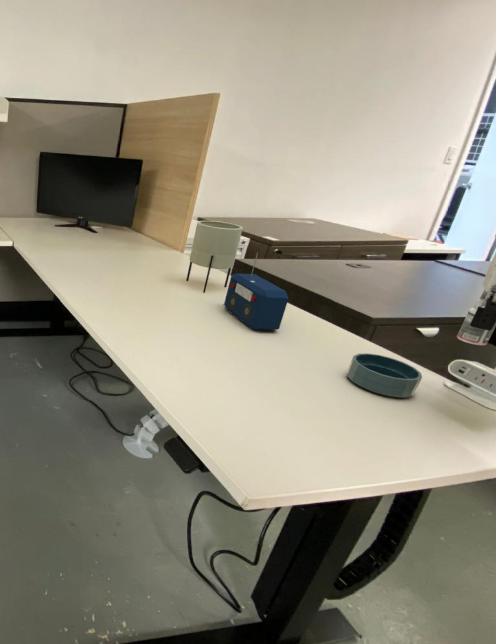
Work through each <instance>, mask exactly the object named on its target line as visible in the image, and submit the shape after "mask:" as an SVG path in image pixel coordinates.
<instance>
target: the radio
mask: <svg viewBox="0 0 496 644" xmlns="http://www.w3.org/2000/svg"><path fill="white" fill-rule="evenodd" d="M255 255H256V256H255V259H254V262H253V266H252V271H251V273H233V274H232V275H230V278H229V282H228V285H227V286H228V287H227V291H226V293H225V294H226V295H225V299H224V303H223V305H224V307H225V310H226V311H227V312H229V313H230V314H231V315H233V316H234V317H235V318H236V319H238V320H239V321H240V322H242V323H243V324H245V326H247V327H248V328H249V329H251V330H252V331H276V330H280V327H281V325H282V321H283V318H284V314H285V311H286V308H287V305H288V302H289V296H288V293H287V292H286V290H284V289H283V288H281V287H279V286H277V285H275V284H274V283H272V282H271V281H269V280H266V279H265V278H262V276H260V275H258V274H256V273H254V270H255V265H256V262H257V258H258V255H259V252H258V251H257V252H256V254H255Z"/></svg>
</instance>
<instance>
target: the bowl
mask: <svg viewBox="0 0 496 644" xmlns="http://www.w3.org/2000/svg"><path fill="white" fill-rule="evenodd" d="M346 377H347V378H349V380H350V382H353V383H354V384H356V385H358V386H359V387H361V388H363V389H365V390H367V391H370V392H372V393H375V394H378V395H382V396H386V397H393V398H411V397H412V396H414V394H415V393H416V391H417V389H418V387H419V385H420V383H421V381H422V379H423V376H422V372H420V371H419V370H418V369H417V368H415V367H414V366H412V365H410V364H408V363H406V362H404V361H402V360H398V359H396V358H394V357H393V358H392V357H390V356H384V355H381V354H376V353H367V352H365V353H357V354H355V355H353V356H352V358H351V360H350V364H349V366H348V368H347V371H346Z"/></svg>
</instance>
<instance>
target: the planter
mask: <svg viewBox="0 0 496 644" xmlns="http://www.w3.org/2000/svg"><path fill="white" fill-rule="evenodd" d="M243 229H244V228H243V226H241V225H239V224H236V223H231V222H226V221H218V220H199V221H197V223H196V227H195V232H194V236H193V237H194V238H193V241H192V246H191V252H190V256H189V266H188V270H187V275H186V280H185V281H186V282H189V279H190V275H191V271H192V266H193V264H194V265H197V266H199V267H204V268H208V269H207V273H206V278H205V281H204V282H205V283H204V286H203V291H202V293H203V294H205V293H206V289H207V286H208V282H209V278H210V272H211V269H214V270H215V269H217V270H227V269H228V270H227V274H226V278H225V282H224V285H223V287H224V288H228V287H227V286H228V284H229V280H230V276H231V275H230V274H231V271H232V268H233V267H234V265H235V260H236V258H237V257H236V256H237V252H238V248H239V246H240V240H241V237H242V233H243Z"/></svg>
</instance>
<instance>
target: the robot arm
mask: <svg viewBox="0 0 496 644" xmlns="http://www.w3.org/2000/svg"><path fill="white" fill-rule="evenodd" d="M494 238H496V233H495V234H494ZM482 287H483V291H482V293H481V295H480V297H479V299H484V300H483V303H482V305H481V307H478V309H477V311H476V313H475V315H474V317H473V319H472V321H471V323H470V326H471V327H475V328H480V329H484V330H492V328H493V326H494V324H495V322H496V252H494V255H493V257H492V260H491V262H490V264H489V266H488V269H487V270H486V274H485V276H484V279H483V282H482Z"/></svg>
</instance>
